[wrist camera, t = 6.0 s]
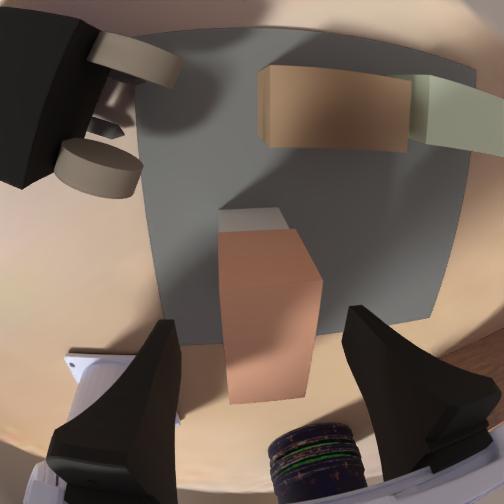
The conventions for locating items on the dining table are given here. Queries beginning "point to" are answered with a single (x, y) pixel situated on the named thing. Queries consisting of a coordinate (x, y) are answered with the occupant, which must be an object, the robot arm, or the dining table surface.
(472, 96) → the sage brick
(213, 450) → the dining table surface
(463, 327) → the dining table surface
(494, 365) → the tissue box cover
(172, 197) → the felt mat
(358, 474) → the storage jar
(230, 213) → the pale grey brick
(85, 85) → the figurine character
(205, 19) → the dining table surface
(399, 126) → the walnut brick
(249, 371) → the terracotta brick
